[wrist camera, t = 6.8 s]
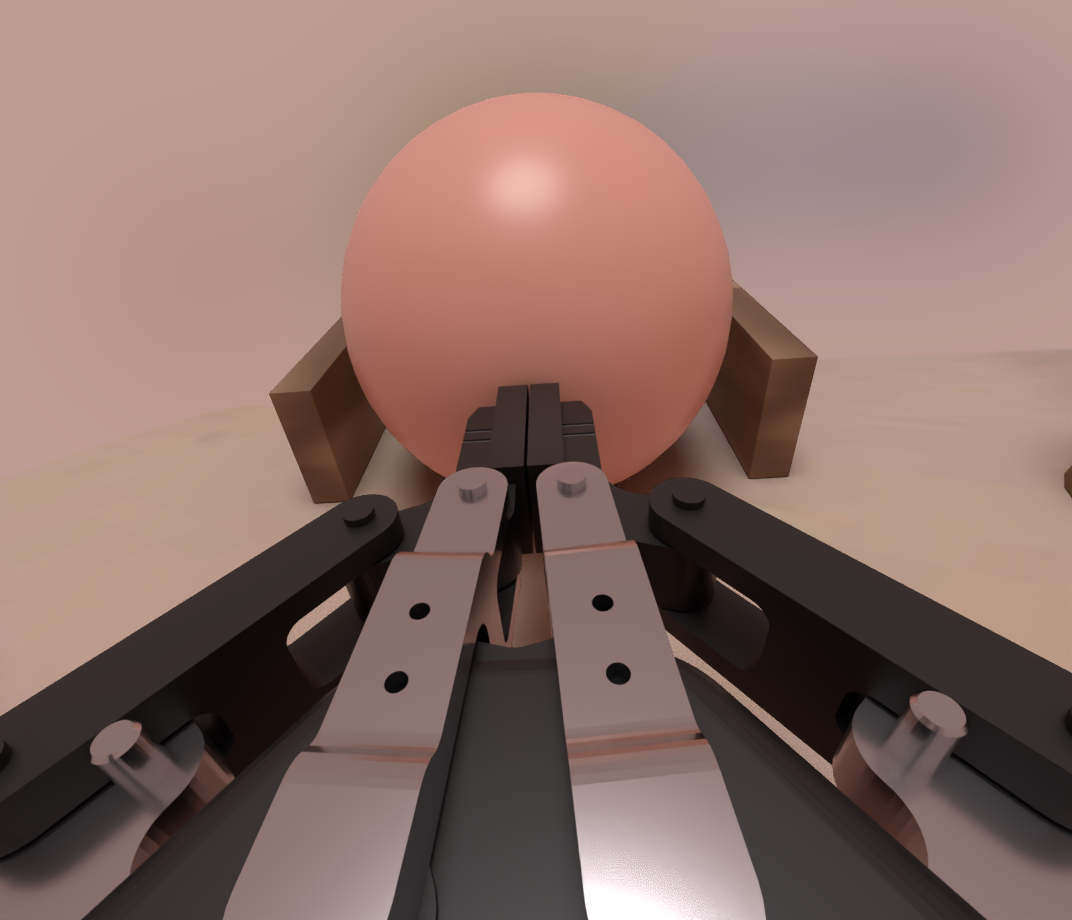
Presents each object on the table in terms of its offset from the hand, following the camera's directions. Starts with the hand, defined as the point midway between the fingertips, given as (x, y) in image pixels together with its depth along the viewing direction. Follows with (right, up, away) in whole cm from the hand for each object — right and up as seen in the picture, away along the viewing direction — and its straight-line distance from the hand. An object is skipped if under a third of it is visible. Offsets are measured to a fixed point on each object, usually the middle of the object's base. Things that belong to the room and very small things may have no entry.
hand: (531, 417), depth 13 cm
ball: (0, +4, +5) cm, 7 cm away
